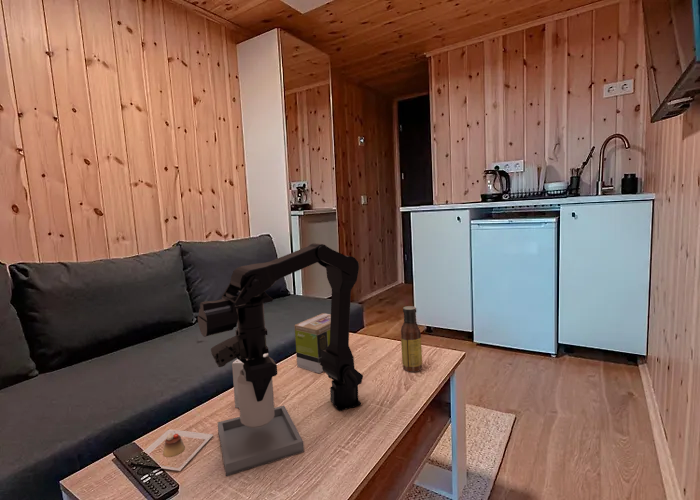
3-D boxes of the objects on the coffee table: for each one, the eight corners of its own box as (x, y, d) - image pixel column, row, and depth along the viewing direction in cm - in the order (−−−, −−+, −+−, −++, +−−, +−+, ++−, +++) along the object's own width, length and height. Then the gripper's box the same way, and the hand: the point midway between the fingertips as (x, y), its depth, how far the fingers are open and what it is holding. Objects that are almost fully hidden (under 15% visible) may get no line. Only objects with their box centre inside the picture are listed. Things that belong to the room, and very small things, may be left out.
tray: (284, 414, 95) (284, 405, 94) (303, 451, 80) (303, 441, 80) (218, 432, 88) (217, 422, 88) (226, 476, 74) (225, 464, 73)
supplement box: (260, 410, 97) (257, 364, 95) (234, 408, 98) (230, 362, 97) (271, 396, 104) (269, 352, 103) (247, 394, 106) (244, 351, 104)
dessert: (214, 438, 87) (212, 419, 86) (180, 475, 75) (178, 454, 74) (169, 433, 89) (167, 414, 89) (129, 468, 78) (127, 446, 77)
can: (244, 412, 87) (240, 363, 85) (276, 409, 88) (273, 361, 86) (237, 431, 80) (233, 378, 78) (272, 429, 80) (269, 376, 79)
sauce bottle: (425, 366, 119) (424, 306, 117) (417, 374, 114) (417, 311, 112) (406, 362, 123) (405, 303, 120) (398, 370, 118) (397, 308, 115)
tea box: (325, 351, 134) (323, 311, 132) (347, 357, 128) (346, 316, 126) (295, 367, 122) (293, 323, 120) (319, 374, 116) (317, 329, 114)
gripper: (208, 319, 86) (214, 383, 88) (216, 346, 69) (222, 424, 71) (257, 311, 90) (261, 372, 92) (275, 335, 74) (280, 409, 76)
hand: (256, 392), depth 83 cm, fingers closed on can, 7 cm apart
